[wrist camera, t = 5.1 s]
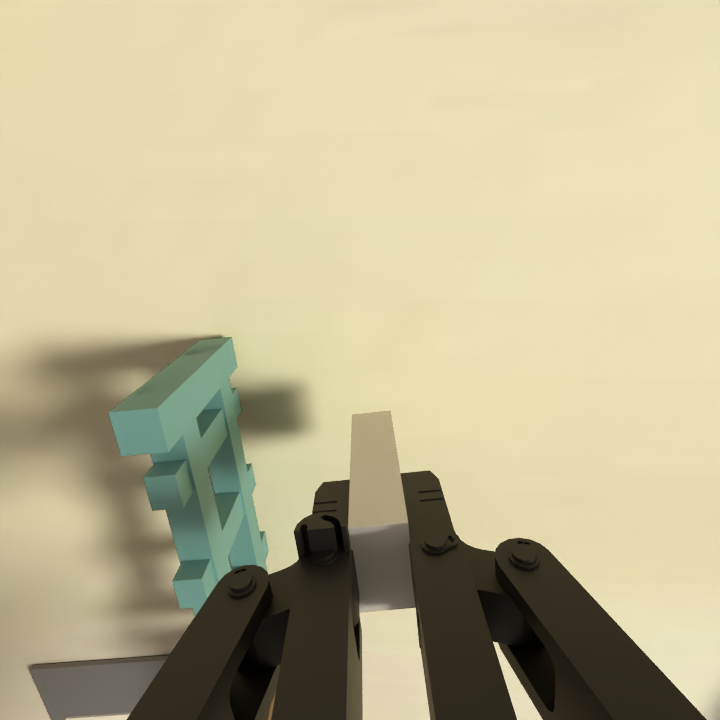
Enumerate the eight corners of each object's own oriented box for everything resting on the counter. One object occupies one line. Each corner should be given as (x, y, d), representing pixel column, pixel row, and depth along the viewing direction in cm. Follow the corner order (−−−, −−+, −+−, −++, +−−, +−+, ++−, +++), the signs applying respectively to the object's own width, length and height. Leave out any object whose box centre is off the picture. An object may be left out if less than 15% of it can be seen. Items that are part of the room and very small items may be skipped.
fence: (287, 612, 25) (257, 778, 17) (255, 615, 25) (212, 781, 17) (236, 336, 20) (164, 407, 12) (196, 340, 20) (101, 413, 12)
